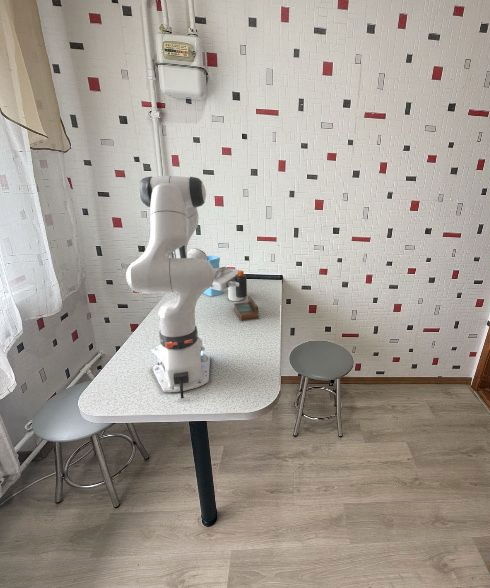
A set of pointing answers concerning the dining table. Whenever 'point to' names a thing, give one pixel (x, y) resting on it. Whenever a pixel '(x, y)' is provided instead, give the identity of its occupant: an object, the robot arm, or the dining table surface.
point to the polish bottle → (241, 285)
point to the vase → (215, 264)
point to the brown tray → (247, 310)
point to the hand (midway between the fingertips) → (242, 281)
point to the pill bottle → (233, 294)
